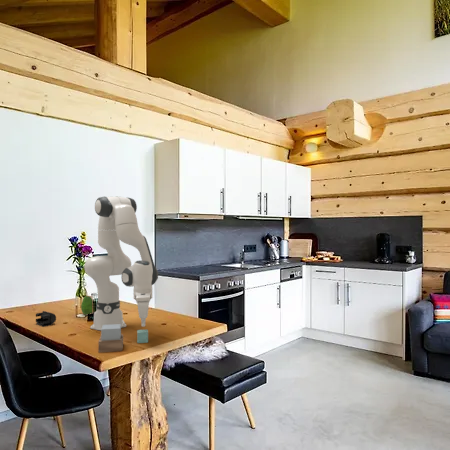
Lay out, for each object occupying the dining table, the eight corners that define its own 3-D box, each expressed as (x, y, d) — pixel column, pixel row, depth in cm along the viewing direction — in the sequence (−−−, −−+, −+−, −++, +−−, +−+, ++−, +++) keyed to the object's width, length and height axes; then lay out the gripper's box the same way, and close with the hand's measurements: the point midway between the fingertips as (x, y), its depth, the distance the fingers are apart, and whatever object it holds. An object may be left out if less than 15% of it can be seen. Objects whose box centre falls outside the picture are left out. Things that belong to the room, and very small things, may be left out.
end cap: (56, 324, 221) (56, 312, 221) (43, 327, 215) (43, 314, 215) (47, 321, 227) (47, 310, 227) (35, 324, 221) (35, 312, 222)
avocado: (78, 316, 242) (78, 296, 242) (85, 313, 249) (85, 294, 249) (90, 316, 240) (90, 296, 240) (96, 313, 248) (96, 294, 248)
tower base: (100, 346, 181) (100, 335, 181) (123, 344, 183) (123, 334, 183) (98, 353, 171) (98, 341, 171) (122, 351, 173) (122, 340, 173)
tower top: (102, 335, 180) (102, 324, 180) (120, 334, 182) (120, 324, 182) (101, 340, 173) (101, 329, 173) (120, 339, 174) (120, 328, 174)
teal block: (137, 340, 190) (137, 329, 190) (147, 339, 191) (147, 329, 191) (137, 343, 185) (137, 332, 185) (148, 342, 186) (148, 332, 186)
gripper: (136, 292, 198) (136, 319, 197) (136, 298, 178) (136, 329, 177) (149, 291, 199) (149, 319, 199) (150, 297, 179) (150, 328, 179)
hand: (143, 323), depth 188 cm, fingers open, 8 cm apart
